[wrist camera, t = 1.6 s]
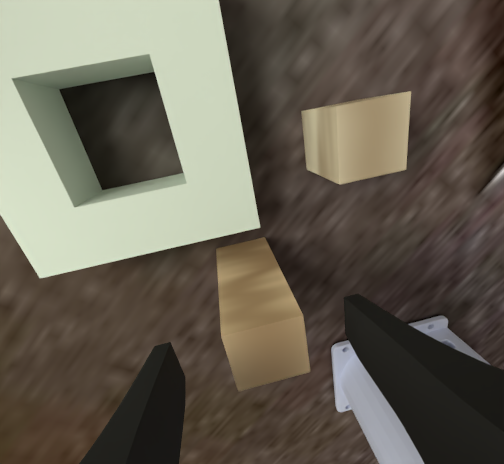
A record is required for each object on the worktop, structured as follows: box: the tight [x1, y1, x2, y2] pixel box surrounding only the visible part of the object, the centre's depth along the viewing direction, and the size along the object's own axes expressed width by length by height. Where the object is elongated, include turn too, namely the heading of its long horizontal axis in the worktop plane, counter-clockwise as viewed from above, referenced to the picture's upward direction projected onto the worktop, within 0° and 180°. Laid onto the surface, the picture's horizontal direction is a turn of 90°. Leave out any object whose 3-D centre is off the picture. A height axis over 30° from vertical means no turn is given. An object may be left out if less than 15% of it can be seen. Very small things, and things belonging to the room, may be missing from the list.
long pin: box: [216, 237, 310, 391], centre depth 13 cm, size 3×3×7 cm
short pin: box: [301, 91, 411, 185], centre depth 12 cm, size 3×3×4 cm
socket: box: [0, 0, 260, 278], centre depth 11 cm, size 10×10×3 cm
